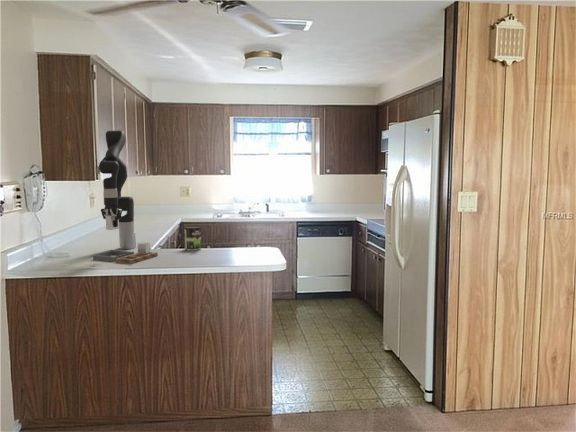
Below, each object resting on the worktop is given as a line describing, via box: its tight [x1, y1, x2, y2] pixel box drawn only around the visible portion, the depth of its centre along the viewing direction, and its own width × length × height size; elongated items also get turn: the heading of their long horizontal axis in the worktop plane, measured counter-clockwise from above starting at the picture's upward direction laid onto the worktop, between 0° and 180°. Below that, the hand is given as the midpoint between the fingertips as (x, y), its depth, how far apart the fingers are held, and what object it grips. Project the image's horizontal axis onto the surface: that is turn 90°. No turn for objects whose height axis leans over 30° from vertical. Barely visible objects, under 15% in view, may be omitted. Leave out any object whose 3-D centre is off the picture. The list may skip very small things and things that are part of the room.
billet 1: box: [105, 214, 119, 231], centre depth 267 cm, size 4×6×8 cm
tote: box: [92, 249, 135, 263], centre depth 270 cm, size 16×16×4 cm
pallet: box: [115, 251, 159, 266], centre depth 266 cm, size 22×11×3 cm, turn 158°
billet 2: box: [137, 241, 151, 255], centre depth 271 cm, size 4×6×8 cm
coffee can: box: [184, 225, 202, 251], centre depth 299 cm, size 10×10×14 cm
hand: (112, 226), depth 268 cm, fingers closed on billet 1, 4 cm apart
